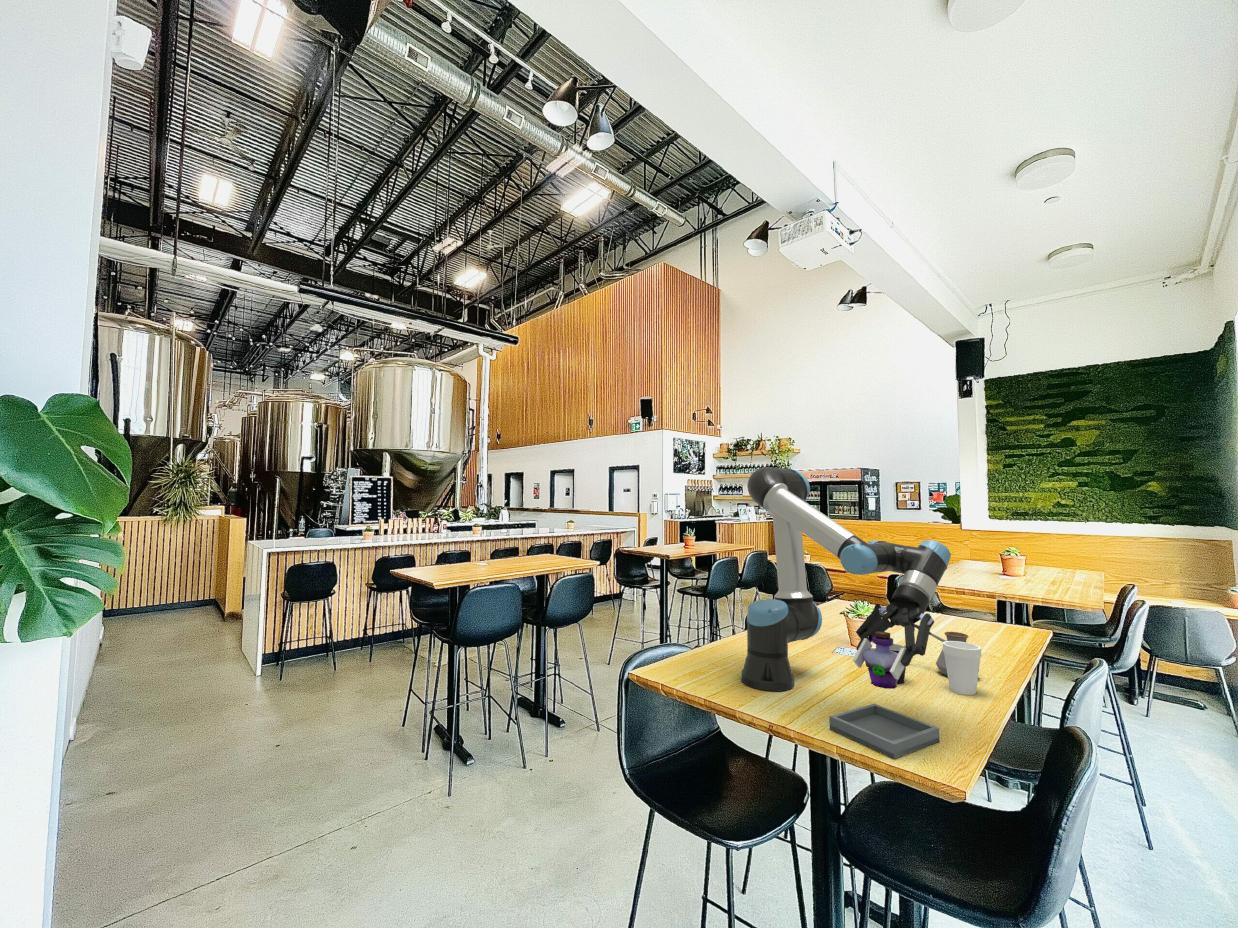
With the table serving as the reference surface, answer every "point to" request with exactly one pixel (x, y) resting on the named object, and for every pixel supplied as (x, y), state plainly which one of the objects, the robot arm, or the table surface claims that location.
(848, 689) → the table surface
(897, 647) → the coffee mug
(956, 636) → the coffee pot
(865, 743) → the tray
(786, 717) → the table surface
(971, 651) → the foam cup
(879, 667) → the potion bottle
